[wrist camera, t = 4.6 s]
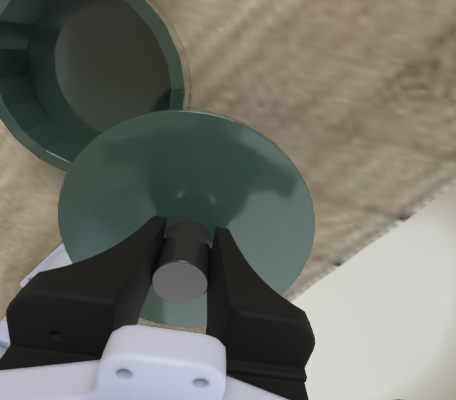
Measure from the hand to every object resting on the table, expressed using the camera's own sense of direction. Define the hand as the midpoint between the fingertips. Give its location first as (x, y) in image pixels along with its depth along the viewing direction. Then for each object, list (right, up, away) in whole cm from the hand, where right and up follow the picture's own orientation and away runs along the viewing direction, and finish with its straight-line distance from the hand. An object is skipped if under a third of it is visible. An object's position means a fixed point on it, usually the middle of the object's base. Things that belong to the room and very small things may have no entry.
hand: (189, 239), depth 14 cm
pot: (-7, +10, +6) cm, 14 cm away
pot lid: (0, 0, +1) cm, 1 cm away
